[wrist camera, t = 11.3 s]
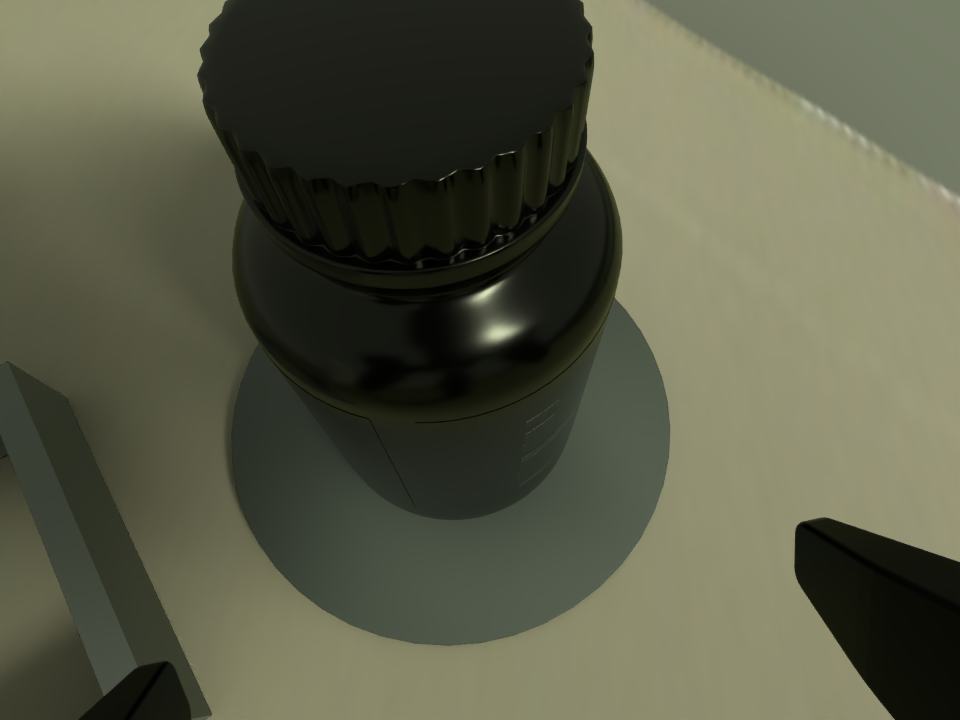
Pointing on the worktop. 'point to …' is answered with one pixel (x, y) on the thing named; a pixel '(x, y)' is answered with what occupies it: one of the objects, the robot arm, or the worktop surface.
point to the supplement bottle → (420, 230)
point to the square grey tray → (86, 538)
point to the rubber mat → (456, 543)
